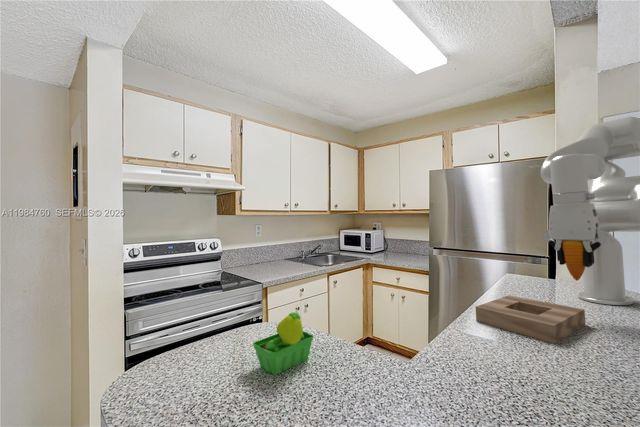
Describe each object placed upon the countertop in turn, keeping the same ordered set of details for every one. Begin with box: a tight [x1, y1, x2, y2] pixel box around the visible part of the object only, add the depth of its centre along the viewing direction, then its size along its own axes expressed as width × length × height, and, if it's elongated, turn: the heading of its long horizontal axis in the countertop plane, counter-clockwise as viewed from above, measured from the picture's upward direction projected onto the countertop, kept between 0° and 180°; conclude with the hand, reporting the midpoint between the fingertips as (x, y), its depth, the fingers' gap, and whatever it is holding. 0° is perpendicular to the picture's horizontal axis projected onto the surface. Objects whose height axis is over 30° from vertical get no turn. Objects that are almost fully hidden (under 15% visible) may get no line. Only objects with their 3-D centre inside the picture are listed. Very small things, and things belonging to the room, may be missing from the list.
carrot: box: [562, 231, 586, 282], centre depth 79 cm, size 5×5×15 cm
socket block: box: [474, 294, 586, 344], centre depth 76 cm, size 18×18×4 cm
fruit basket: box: [252, 311, 314, 376], centre depth 61 cm, size 11×9×11 cm
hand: (575, 264), depth 79 cm, fingers closed on carrot, 4 cm apart
